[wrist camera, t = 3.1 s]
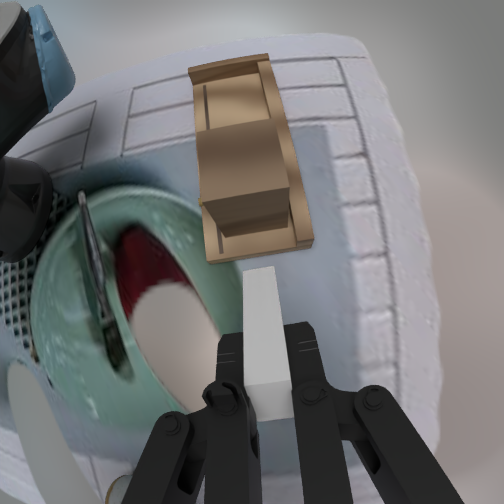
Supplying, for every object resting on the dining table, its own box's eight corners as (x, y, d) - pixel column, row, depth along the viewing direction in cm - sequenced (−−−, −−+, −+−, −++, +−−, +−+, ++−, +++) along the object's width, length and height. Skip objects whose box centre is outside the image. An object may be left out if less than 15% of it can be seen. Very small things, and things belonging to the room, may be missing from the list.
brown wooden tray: (310, 247, 30) (314, 236, 26) (210, 264, 30) (200, 255, 26) (269, 74, 35) (267, 53, 31) (195, 88, 36) (188, 67, 32)
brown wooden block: (287, 227, 29) (289, 186, 20) (209, 240, 29) (179, 206, 20) (276, 171, 30) (274, 118, 21) (203, 185, 31) (176, 136, 22)
